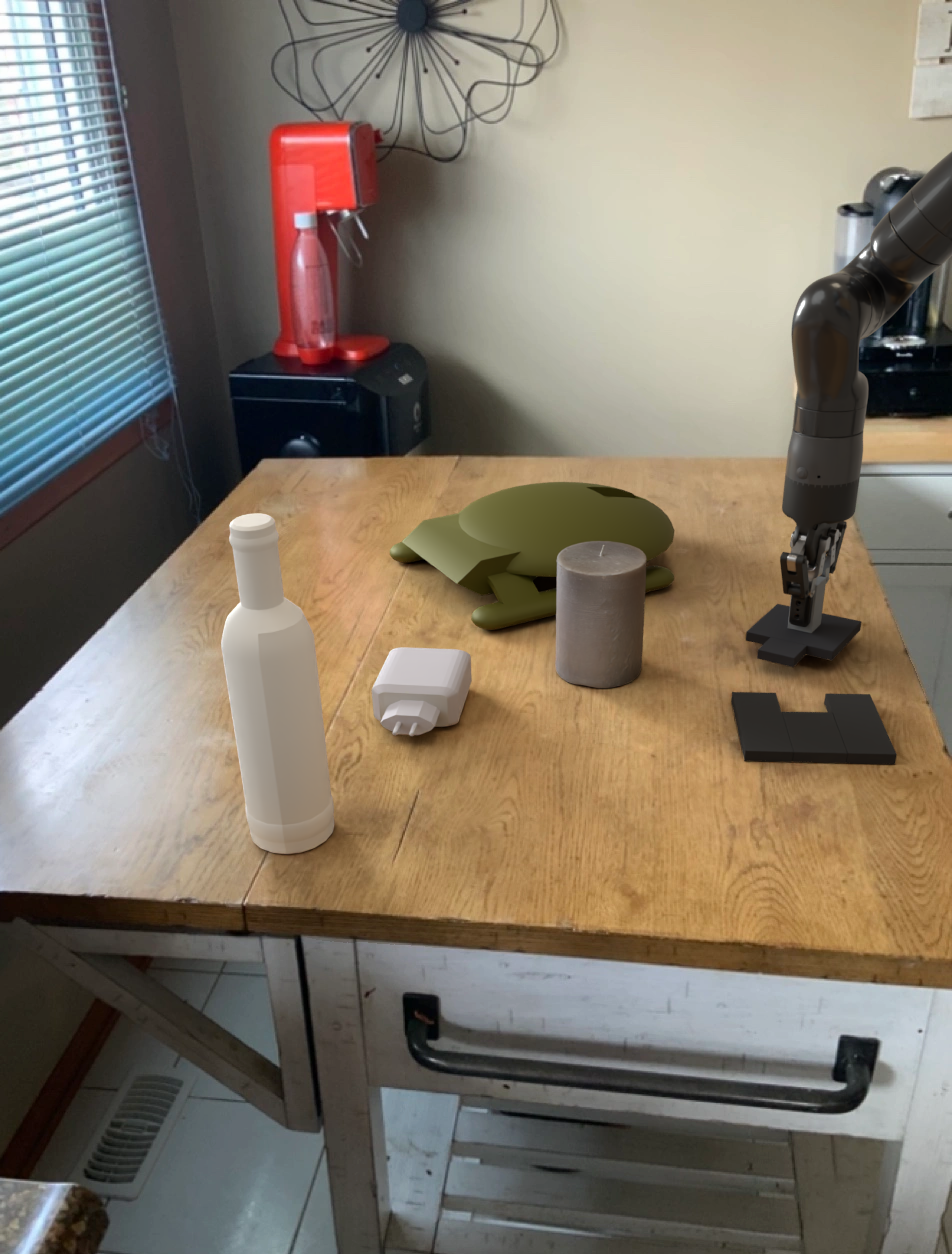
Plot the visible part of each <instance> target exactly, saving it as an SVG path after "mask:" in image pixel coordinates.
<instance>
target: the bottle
mask: <svg viewBox="0 0 952 1254" xmlns="http://www.w3.org/2000/svg"><path fill="white" fill-rule="evenodd" d="M228 527H229V532H230V533H229V537H228V540H229V544H230V547H232V554H233V561H234V569H235V575H236V581H237V590H238V596H239V597H238V598H239V602H238V603H237V605H236V606H235V607H234V608H233V609H232V610H231V612H229V614H227V617H226V619H225V622H224V626H223V630H222V635H221V641H220V647H221V654H222V660H223V666H224V667H223V668H224V674H225V680H226V687H227V693H228V698H229V706H230V712H231V718H232V725H233V730H234V738H235V745H236V750H237V757H238V763H239V770H240V777H241V782H242V789H243V797H244V802H245V805H244V806H245V807H244V808H245V816H246V821H247V824H248V825H247V826H248V828H249V833H250V837H251V841H252V842H253V844H255V845H256V846H257V847H258V848H260V849H262V850H265V851H267V852H270V853H272V854H282V855H291V854H300V853H303V852H304V853H305V852H306V851H310V850H312V849H315V848H318V847H319V846H320V845H321V844H323V843H325V842H326V841H328V839H329V837H331V835H332V834H333V833H334V828H335V816H334V815H335V805H334V798H333V795H332V788H331V787H332V786H331V779H330V777H331V776H330V770H329V769H330V768H329V760H328V759H329V758H328V751H327V742H326V741H327V740H326V733H325V723H324V715H323V706H322V696H321V688H320V687H321V686H320V678H319V669H318V659H317V651H316V641H315V640H316V639H315V634H314V632H313V629H312V627H311V625H310V623H309V621H308V619H307V617H306V615H305V613H304V611H303V609H302V608H301V607H300V606H299V605H297V604H295V603H294V602H292V601H291V600H290V599H288V598H287V597H285V593H284V584H283V575H282V567H281V558H280V551H279V550H280V549H279V543H278V542H279V540H280V536H279V535H280V534H279V531H278V529H277V525H276V520H275V518H274V517H273V516H271V515H269V514H266V513H260V512H259V513H257V512H256V513H255V512H254V513H246V514H242V515H240V516H236V517H234V519H232V521H230V523H229V525H228Z"/></svg>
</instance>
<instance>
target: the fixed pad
mask: <svg viewBox="0 0 952 1254" xmlns="http://www.w3.org/2000/svg"><path fill="white" fill-rule="evenodd" d="M730 703H731V706H732V711H733V716H734V720H735V721H734V722H735V725H736V730H737V734H738V739H739V743H740V747H741V751H742V757H743V761H744V762H766V763H770V762H771V763H814V764H815V763H816V764H817V763H819V764H848V765H849V764H851V765H852V764H853V765H855V764H856V765H890V766H892V765H894V766H895V765H896V761H897V756H898V754H897V752H896V749H895V747H894V744H893V743H892V740H891V737H890V735H889V734H888V731H887V729H886V727H885V724H884V722H883V720H882V718H881V716H880V713H879V711H878V709H877V706H876V704H875V702H874V700H873V698H872V695H871V694H870V693H825V694H824V701H823V705H824V707H825V709H826V711H787V710H785V711H782V709H781V704H780V703H779V699H778V696H777V693H776V692H766V691H765V692H760V691H759V692H756V691H732V692H731V699H730Z"/></svg>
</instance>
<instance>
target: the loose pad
mask: <svg viewBox="0 0 952 1254" xmlns="http://www.w3.org/2000/svg"><path fill="white" fill-rule="evenodd" d="M826 578H827V577H822V576H818V577H817V580H816V586H815V593H814V595H813V604H812V612H811V620H810V624H809V625H808V626H807V627H800V626H796V625H792V624H790V622H789V615H790V606H791V601H790V602H789V605H785V604H781V603H777V604H775V605H774V606H773V607H772V608H771V609H770V610H769V611H767V612H766V613H765V614H764V615H763V616H762V617H761V618H760V619H758V620H757V621H756V622H755V623H754V624H753V625H752V626H751V627H749V629H747V630H746V634H745V641H746V642H750V643H754V644H758V645H760V647H759V648H757V653H756V654H757V655H756V659H757V660H761V661H765V662H769V663H773V664H777V665H781V666H786V667H790V668H794V667H796V666H797V664H798V663H799V662H801V661H802V659H804V658H805V656H808V657H809V656H810V657H813V658H818V659H823V660H827V661H833V660H834V659H836V657H837V656H838V655H839V654H840V653H841V652H842V651H843V649H845V648H846V647H847V645H848V644H849V643H850V642H851V641H852V640H853V639H854V638H855V637H856V636H857V635H858V634H859V632H860V631H861V629H862V620H857V619H854V618H853V619H852V618H848V617H844V616H838V615H833V614H828V613H823V610H824V601H825V592H826V586H827V584H826ZM808 580H809V578H808ZM791 597H792V595H790V598H791Z"/></svg>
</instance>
